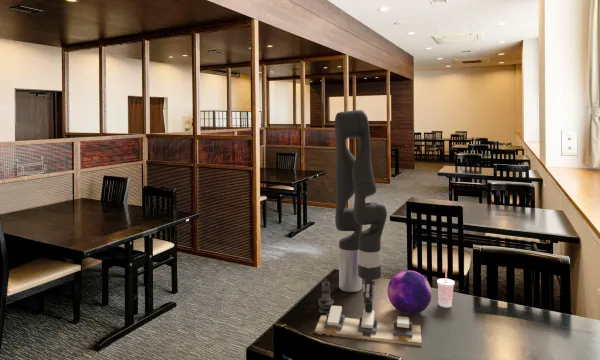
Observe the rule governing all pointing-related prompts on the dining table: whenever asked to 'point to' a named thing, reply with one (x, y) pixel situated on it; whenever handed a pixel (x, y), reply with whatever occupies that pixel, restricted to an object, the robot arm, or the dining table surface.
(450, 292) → the beverage cup
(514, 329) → the dining table surface
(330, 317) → the block
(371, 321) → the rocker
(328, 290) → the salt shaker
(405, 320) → the block
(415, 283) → the decorative orb
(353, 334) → the switch board
